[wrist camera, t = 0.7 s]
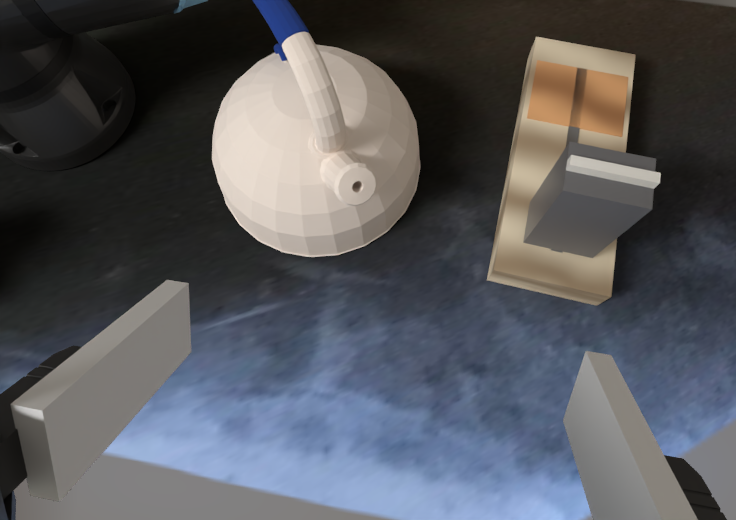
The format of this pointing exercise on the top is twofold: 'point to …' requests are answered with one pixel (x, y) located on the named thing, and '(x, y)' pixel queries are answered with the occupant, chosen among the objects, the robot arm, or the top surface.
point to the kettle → (314, 145)
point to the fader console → (542, 150)
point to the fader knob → (590, 199)
